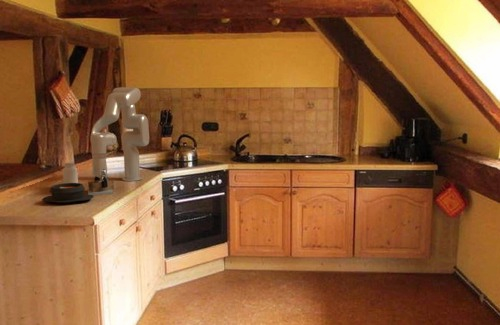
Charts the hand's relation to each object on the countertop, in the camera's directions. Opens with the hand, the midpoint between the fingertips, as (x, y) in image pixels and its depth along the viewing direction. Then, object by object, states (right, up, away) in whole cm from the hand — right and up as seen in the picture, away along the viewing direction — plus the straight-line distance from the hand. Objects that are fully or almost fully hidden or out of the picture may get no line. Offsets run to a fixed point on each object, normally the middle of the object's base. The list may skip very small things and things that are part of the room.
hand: (101, 186), depth 245 cm
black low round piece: (-10, -7, -21) cm, 24 cm away
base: (0, -3, 0) cm, 3 cm away
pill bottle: (-22, -2, +12) cm, 25 cm away
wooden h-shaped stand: (0, -2, 0) cm, 2 cm away
